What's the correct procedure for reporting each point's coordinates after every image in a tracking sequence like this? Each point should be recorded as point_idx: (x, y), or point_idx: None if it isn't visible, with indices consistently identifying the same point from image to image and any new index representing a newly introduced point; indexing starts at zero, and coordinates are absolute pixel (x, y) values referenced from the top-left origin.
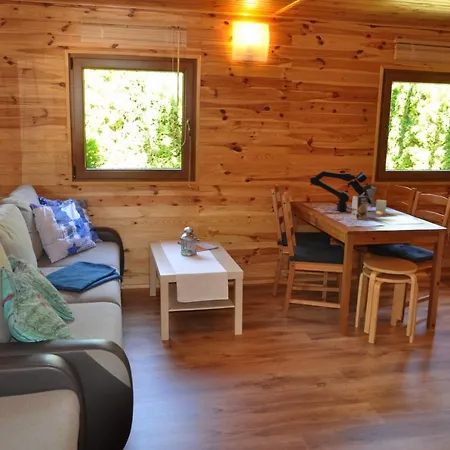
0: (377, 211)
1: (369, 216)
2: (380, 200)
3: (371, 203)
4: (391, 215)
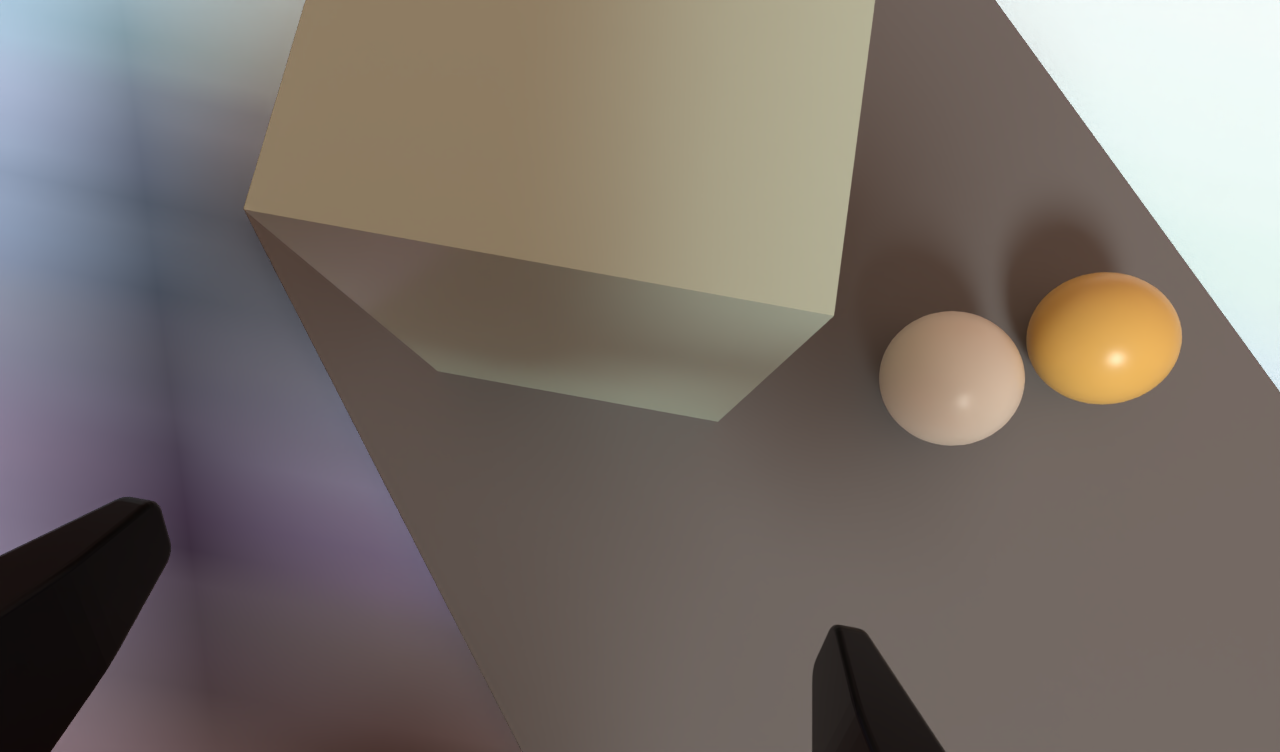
0: (995, 409)
1: (1276, 728)
2: (564, 46)
3: (859, 641)
4: (883, 38)
